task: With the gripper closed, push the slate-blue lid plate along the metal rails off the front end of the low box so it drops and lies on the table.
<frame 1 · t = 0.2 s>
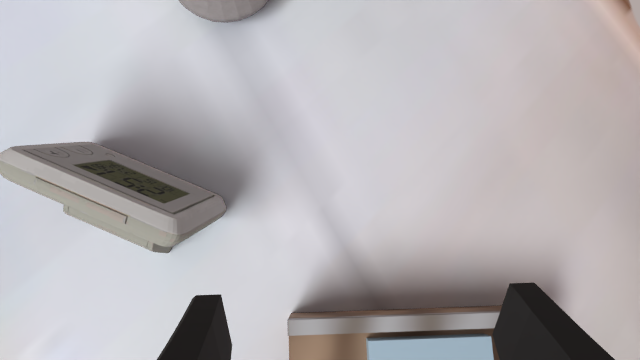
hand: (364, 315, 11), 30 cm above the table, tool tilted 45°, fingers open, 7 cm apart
digital clock: (149, 197, 42), on the table
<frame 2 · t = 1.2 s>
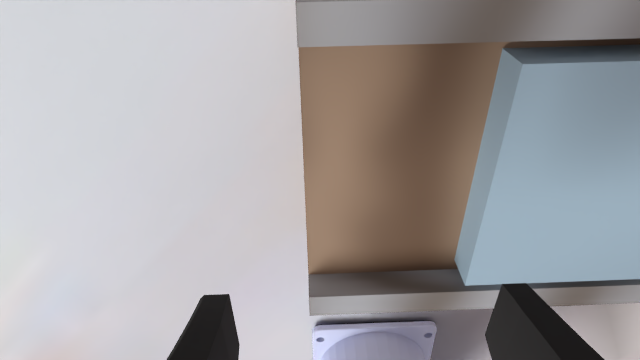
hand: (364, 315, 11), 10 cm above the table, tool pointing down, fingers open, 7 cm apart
slide box: (542, 120, 20), on the table
lid plate: (603, 167, 16), point 4 cm above the table, touching slide box
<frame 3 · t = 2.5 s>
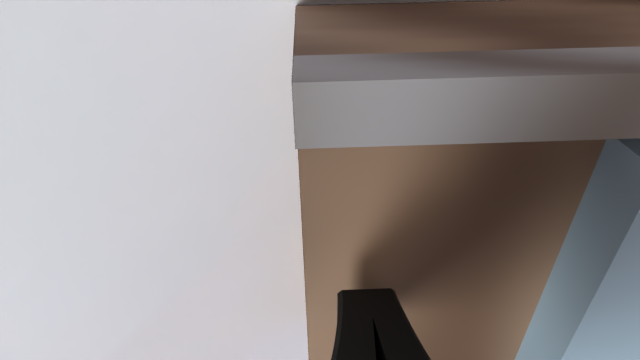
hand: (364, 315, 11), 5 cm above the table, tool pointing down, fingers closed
slide box: (618, 193, 15), on the table
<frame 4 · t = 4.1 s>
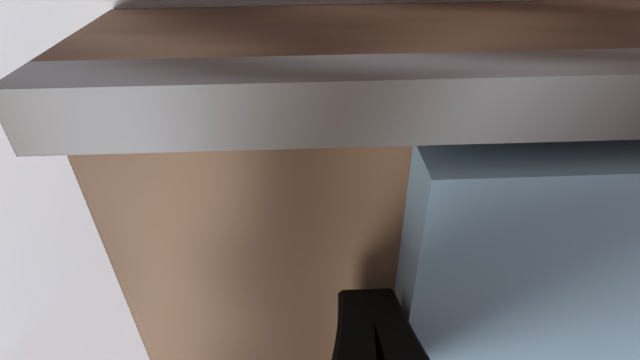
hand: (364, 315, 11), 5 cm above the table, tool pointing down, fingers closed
slide box: (483, 198, 15), on the table
lid plate: (577, 285, 12), point 4 cm above the table, touching gripper
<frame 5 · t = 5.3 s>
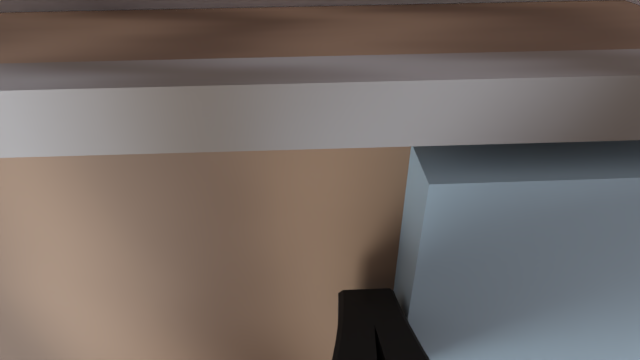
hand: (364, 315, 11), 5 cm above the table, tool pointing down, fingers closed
slide box: (237, 206, 15), on the table
lid plate: (575, 287, 12), point 4 cm above the table, touching gripper
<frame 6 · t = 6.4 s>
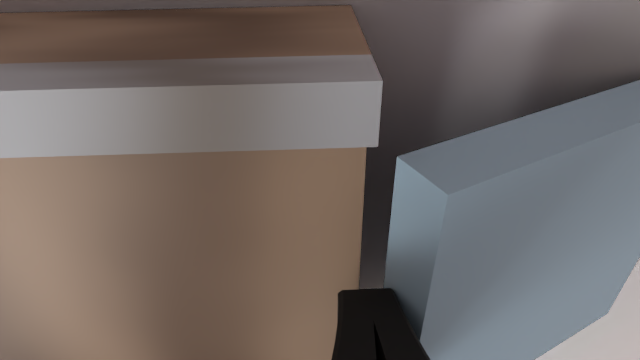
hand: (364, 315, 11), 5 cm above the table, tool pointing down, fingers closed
slide box: (24, 213, 15), on the table
lid plate: (515, 244, 13), point 2 cm above the table, tilted 26°
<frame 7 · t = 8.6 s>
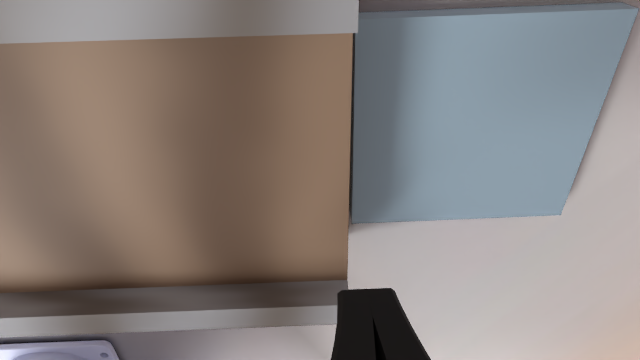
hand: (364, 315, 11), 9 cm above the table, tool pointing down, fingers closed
slide box: (82, 132, 18), on the table
lid plate: (462, 116, 19), on the table
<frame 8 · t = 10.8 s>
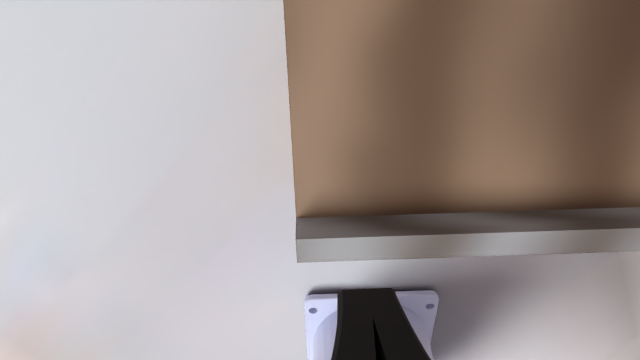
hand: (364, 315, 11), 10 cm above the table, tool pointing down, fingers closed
slide box: (554, 50, 18), on the table
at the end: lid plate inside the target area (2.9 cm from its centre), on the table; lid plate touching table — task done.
